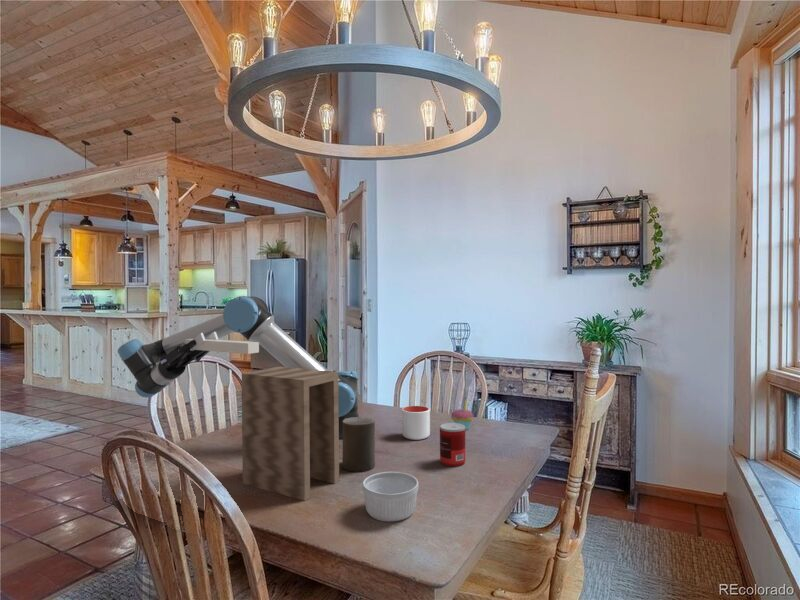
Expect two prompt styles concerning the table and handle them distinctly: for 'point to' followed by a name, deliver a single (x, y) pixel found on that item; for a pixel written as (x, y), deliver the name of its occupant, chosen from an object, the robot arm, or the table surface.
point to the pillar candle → (358, 444)
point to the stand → (290, 429)
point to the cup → (416, 422)
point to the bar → (228, 346)
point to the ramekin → (390, 495)
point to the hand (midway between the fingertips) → (209, 336)
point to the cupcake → (462, 416)
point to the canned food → (452, 444)
